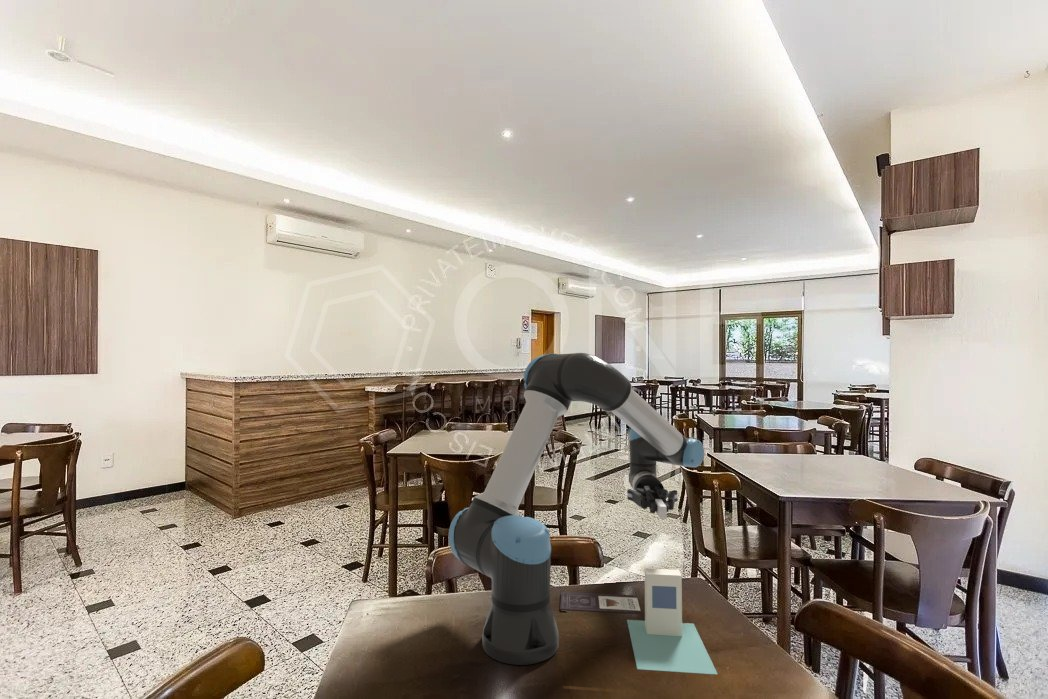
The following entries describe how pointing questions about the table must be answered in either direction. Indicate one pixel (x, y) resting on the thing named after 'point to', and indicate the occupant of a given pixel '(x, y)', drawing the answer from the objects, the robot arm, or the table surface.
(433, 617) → the table surface
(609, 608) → the chocolate bar
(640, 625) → the mat
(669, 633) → the card box
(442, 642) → the table surface
